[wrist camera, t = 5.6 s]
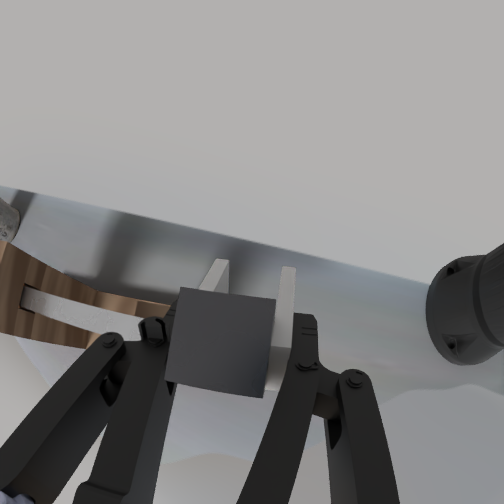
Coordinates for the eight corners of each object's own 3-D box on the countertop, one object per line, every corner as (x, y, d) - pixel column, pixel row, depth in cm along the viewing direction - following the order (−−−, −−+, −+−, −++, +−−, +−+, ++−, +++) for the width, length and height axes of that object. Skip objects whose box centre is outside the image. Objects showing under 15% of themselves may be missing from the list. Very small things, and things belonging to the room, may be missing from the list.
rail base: (251, 319, 34) (229, 274, 16) (242, 385, 31) (207, 416, 14) (58, 283, 37) (-32, 234, 20) (48, 333, 35) (-50, 303, 17)
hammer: (273, 334, 21) (276, 299, 9) (267, 374, 20) (262, 398, 8) (17, 280, 24) (-70, 233, 12) (11, 306, 23) (-79, 267, 11)
